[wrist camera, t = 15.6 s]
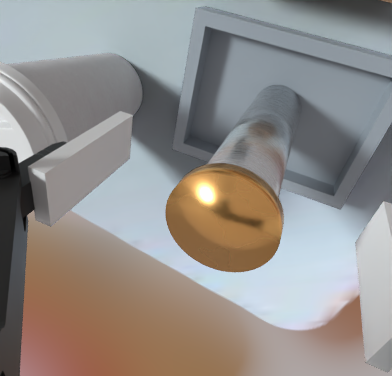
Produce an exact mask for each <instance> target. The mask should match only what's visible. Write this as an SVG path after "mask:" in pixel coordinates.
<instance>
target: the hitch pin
mask: <svg viewBox="0 0 392 376" xmlns="http://www.w3.org/2000/svg"><path fill="white" fill-rule="evenodd" d="M300 113H301V102H300V99H299V97H298V95H297V94H296V93H295V92H294V91H293V90H292V89H291V88H289V87H287V86H284V85H271V86H268V87H266V88H264V89H263V90H261V91H260V92H259V93H258V95H257V96H256V97H255V99H254V100H253V101H252V103H251V104H250V106H249V107H248V108H247V110H246V111H245V112H244V114H243V115H242V117H241V118H240V119H239V121H238V122H237V123H236V125H235V126H234V128H233V129H232V130H231V132H230V133H229V134H228V136H227V137H226V139H225V140H224V141H223V143H222V144H221V145H220V147H219V148H218V150H217V151H216V152H215V154H214V155H213V156H212V158H211V159H210V161H209V162H208V163H207V164H206V165H202V166H200V167H197V168H195V169H193V170H191V171H190V172H189V173H188V174H186V175H185V176H184V177H183V178H182V180H181V181H180V182H179V183H178V185H177V186H176V187H175V188H174V190H173V191H172V193H171V194H170V196H169V198H168V200H167V204H166V221H167V225H168V228H169V231H170V233H171V235H172V237H173V238H174V240H175V241H176V243H177V244H178V245H179V246H180V247H181V249H182V250H183V251H184V252H186V253H187V254H188V255H189V256H190V257H192V258H193V259H195V260H196V261H198V262H200V263H201V264H203V265H206V266H208V267H210V268H213V269H217V270H220V271H226V272H244V271H250V270H253V269H256V268H258V267H260V266H262V265H264V264H265V263H267V262H268V261H269V260H270V259H271V258H272V257H273V256H274V254H275V253H276V251H277V249H278V246H279V244H280V239H281V234H282V229H283V224H284V214H283V209H282V205H281V203H280V200H279V198H278V197H279V193H280V189H281V185H282V182H283V178H284V174H285V170H286V166H287V162H288V159H289V155H290V151H291V147H292V143H293V140H294V136H295V132H296V128H297V124H298V121H299V117H300Z"/></svg>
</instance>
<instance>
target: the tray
mask: <svg viewBox="0 0 392 376" xmlns="http://www.w3.org/2000/svg"><path fill="white" fill-rule="evenodd" d="M271 85H284V86H287V87H289V88H291V89H292V90H293V91H294V92H295V93H296V94H297V95H298V97H299V99H300V102H301V113H300V117H299V121H298V124H297V128H296V132H295V136H294V140H293V143H292V147H291V151H290V155H289V159H288V162H287V166H286V170H285V174H284V178H283V182H282V185H281V189H284V190H287V191H290V192H293V193H295V194H298V195H301V196H304V197H307V198H309V199H312V200H315V201H318V202H320V203H323V204H326V205H329V206H332V207H334V208H337V209H340V210H341V208H342V206H343V205H344V203H345V201H346V200H347V198H348V196H349V194H350V193H351V191H352V189H353V188H354V186H355V184H356V182H357V181H358V179H359V177H360V176H361V174H362V172H363V171H364V169H365V167H366V165H367V164H368V162H369V160H370V159H371V157H372V155H373V153H374V152H375V150H376V148H377V147H378V145H379V143H380V142H381V140H382V138H383V136H384V135H385V133H386V131H387V130H388V128H389V126H390V124H391V123H392V55H388V54H384V53H380V52H376V51H373V50H369V49H365V48H361V47H358V46H354V45H350V44H346V43H342V42H339V41H335V40H331V39H327V38H323V37H320V36H316V35H312V34H308V33H305V32H301V31H297V30H293V29H289V28H286V27H282V26H278V25H274V24H270V23H267V22H263V21H259V20H255V19H252V18H248V17H244V16H240V15H236V14H233V13H229V12H225V11H221V10H217V9H214V8H210V7H199V8H195V14H194V20H193V26H192V32H191V38H190V44H189V50H188V56H187V62H186V68H185V74H184V80H183V86H182V91H181V97H180V103H179V109H178V115H177V121H176V127H175V133H174V139H173V145H172V150H175V151H178V152H181V153H184V154H186V155H189V156H192V157H195V158H198V159H200V160H203V161H206V162H209V161H210V159H211V158H212V156H213V155H214V154H215V152H216V151H217V150H218V148H219V147H220V145H221V144H222V143H223V141H224V140H225V139H226V137H227V136H228V134H229V133H230V132H231V130H232V129H233V128H234V126H235V125H236V123H237V122H238V121H239V119H240V118H241V117H242V115H243V114H244V112H245V111H246V110H247V108H248V107H249V106H250V104H251V103H252V101H253V100H254V99H255V97H256V96H257V95H258V93H259V92H260V91H261V90H263V89H264V88H266V87H268V86H271Z"/></svg>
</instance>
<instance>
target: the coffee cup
mask: <svg viewBox="0 0 392 376" xmlns="http://www.w3.org/2000/svg"><path fill="white" fill-rule="evenodd" d="M142 96H143V91H142V85H141V81H140V78H139V76H138V74H137V72H136V71H135V69H134V68H133V67H132V65H131V64H130V63H129V62H128V61H127V60H125V59H124V58H122V57H121V56H118V55H116V54H112V53H102V54H93V55H84V56H76V57H67V58H58V59H49V60H41V61H31V62H22V63H13V64H4V63H2V62H0V147H7V148H10V149H13V150H14V151H15V152H16V153H17V157H18V163H20V162H22V161H24V160H25V159H27V158H29V157H31V156H32V155H34V154H37V152H39V151H41V150H44V148H46V147H48V146H50V145H51V144H54V143H58V142H62V141H64V142H67V143H68V142H70V141H71V140H73V139H75V138H76V137H78V136H80V135H81V134H83V133H85V132H86V131H88V130H89V129H91V128H93V127H94V126H96V125H98V124H99V123H101V122H103V121H104V120H106V119H108V118H109V117H111V116H113V115H114V114H116V113H118V112H119V111H122V112H125V113H128V114H131V115H134V114H135V113H136V112H137V111H138V109H139V107H140V105H141V102H142Z"/></svg>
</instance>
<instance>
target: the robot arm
mask: <svg viewBox="0 0 392 376" xmlns="http://www.w3.org/2000/svg"><path fill="white" fill-rule="evenodd" d="M132 121H133V115H131V114H128V113H125V112H122V111H119V112H118V113H116V114H114V115H113V116H111V117H109V118H108V119H106V120H104V121H103V122H101V123H99V124H98V125H96V126H94V127H93V128H91V129H89V130H88V131H86V132H85V133H83V134H81V135H80V136H78V137H76V138H75V139H73V140H71V141H70V142H68V143H67V142H64V141H62V142H58V143H54V144H51V145H50V146H48V147H46V148H44V150H41V151H39V152H37V154H34V155H32V156H31V157H29V158H27V159H25V160H24V161H22V162H20V163H18V157H17V153H16V152H15V151H14V150H13V149H10V148H7V147H0V376H20V355H21V339H22V321H23V303H24V284H25V267H26V250H27V232H28V218H27V215H28V214H29V213H31V212H32V211H33V210H34V212H35V219H36V220H37V221H39V222H41V223H44V224H46V225H48V226H52V225H53V224H54V223H56V222H57V221H58V220H59V219H60V218H61V217H63V216H64V215H65V214H66V213H67V212H68V211H70V210H71V209H72V208H73V207H74V206H75V205H76V204H78V203H79V202H80V201H81V200H82V199H83V198H85V197H86V196H87V195H88V194H89V193H90V192H92V191H93V190H94V189H95V188H96V187H97V186H98V185H100V184H101V183H102V182H103V181H104V180H105V179H107V178H108V177H109V176H110V175H111V174H112V173H114V172H115V171H116V170H117V169H118V168H119V167H120V166H122V165H123V164H124V163H125V162H126V161H127V160H129V159H130V148H131V134H132ZM355 243H356V255H357V267H358V279H359V291H360V303H361V315H362V328H363V339H364V351H365V363H367V364H369V365H371V366H374V367H376V368H378V369H381V370H383V371H385V372H389V371H390V370H391V369H392V204H391V203H388V202H385V201H383V202H382V204H381V205H380V207H379V208H378V210H377V211H376V213H375V214H374V216H373V217H372V219H371V220H370V221H369V223H368V224H367V226H366V227H365V229H364V230H363V232H362V233H361V235H360V236H359V238H358V239H357V240H356V242H355Z"/></svg>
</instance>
